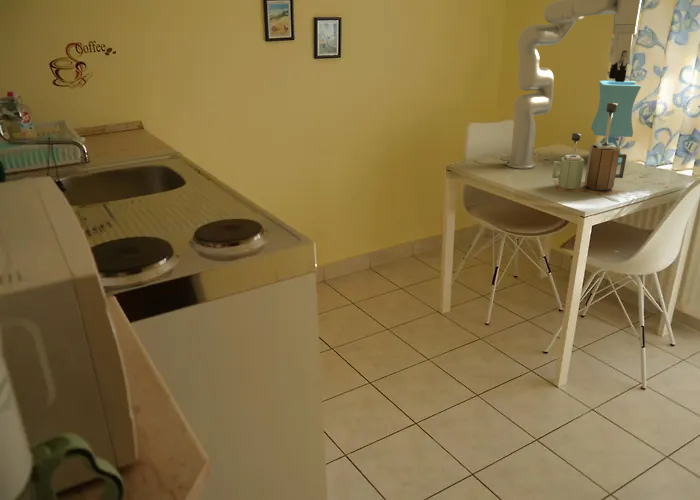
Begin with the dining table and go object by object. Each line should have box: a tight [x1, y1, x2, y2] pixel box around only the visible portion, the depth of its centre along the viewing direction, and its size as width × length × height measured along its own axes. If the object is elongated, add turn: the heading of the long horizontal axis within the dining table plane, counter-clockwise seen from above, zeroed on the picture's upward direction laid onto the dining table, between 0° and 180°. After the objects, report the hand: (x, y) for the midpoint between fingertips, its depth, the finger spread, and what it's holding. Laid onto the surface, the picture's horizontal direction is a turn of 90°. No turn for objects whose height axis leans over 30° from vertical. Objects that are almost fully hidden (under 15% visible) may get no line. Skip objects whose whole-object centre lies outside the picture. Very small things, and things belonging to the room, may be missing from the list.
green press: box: [551, 154, 585, 189], centre depth 225 cm, size 11×8×12 cm
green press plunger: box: [571, 132, 582, 157], centre depth 222 cm, size 5×5×13 cm
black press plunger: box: [603, 103, 617, 150], centre depth 217 cm, size 6×6×20 cm
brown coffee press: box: [584, 142, 627, 191], centre depth 222 cm, size 13×10×17 cm
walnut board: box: [553, 180, 619, 195], centre depth 227 cm, size 22×14×1 cm, turn 79°
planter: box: [590, 80, 642, 165], centre depth 262 cm, size 16×16×35 cm
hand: (616, 80), depth 209 cm, fingers open, 9 cm apart
